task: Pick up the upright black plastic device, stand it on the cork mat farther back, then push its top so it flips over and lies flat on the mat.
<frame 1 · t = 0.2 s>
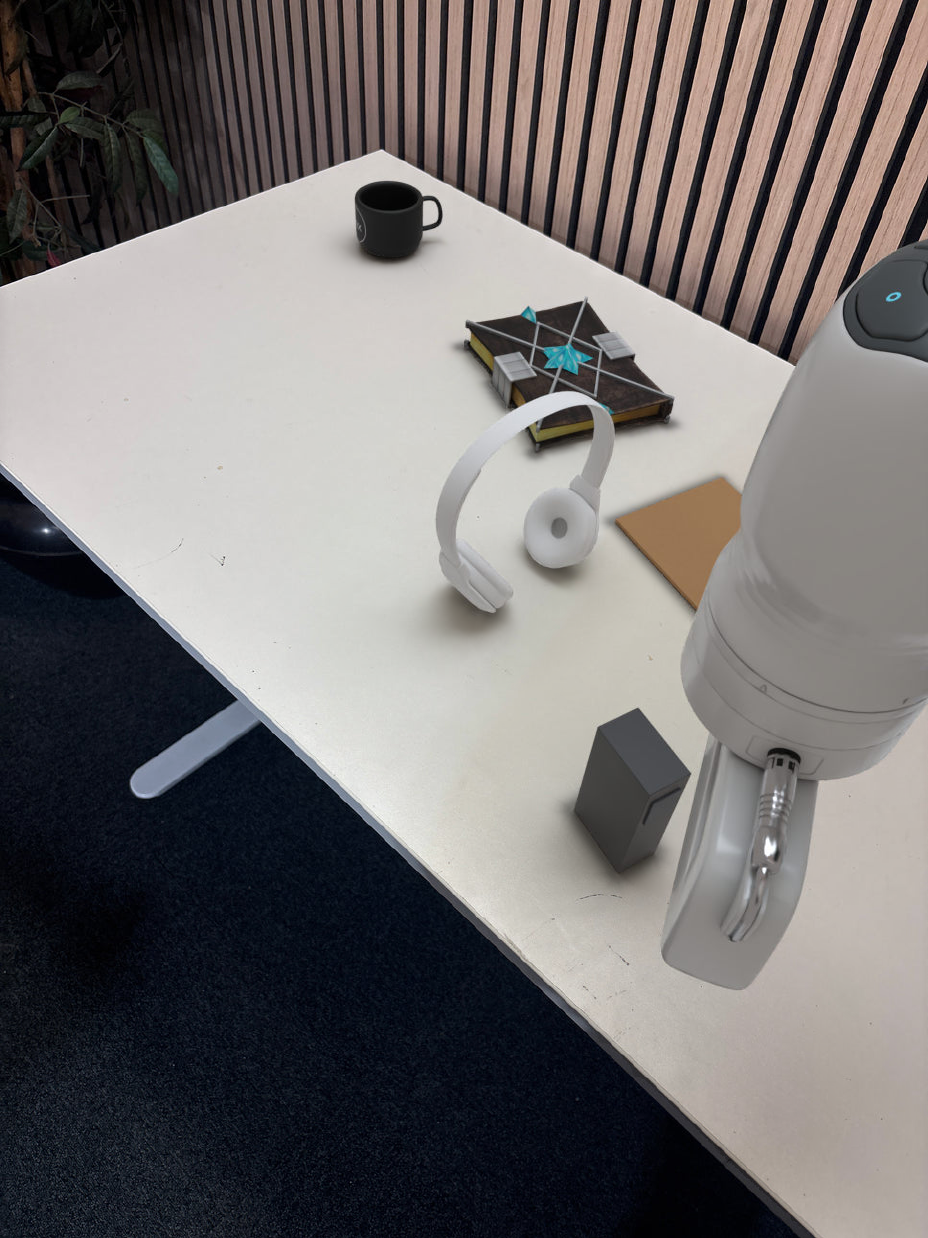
hand: (712, 825, 46), 23 cm above the table, tool pointing down, fingers open, 8 cm apart
headphones: (515, 580, 87), on the table
mat: (731, 563, 90), on the table
device: (613, 831, 71), on the table
mug: (400, 247, 126), on the table
book: (561, 384, 107), on the table
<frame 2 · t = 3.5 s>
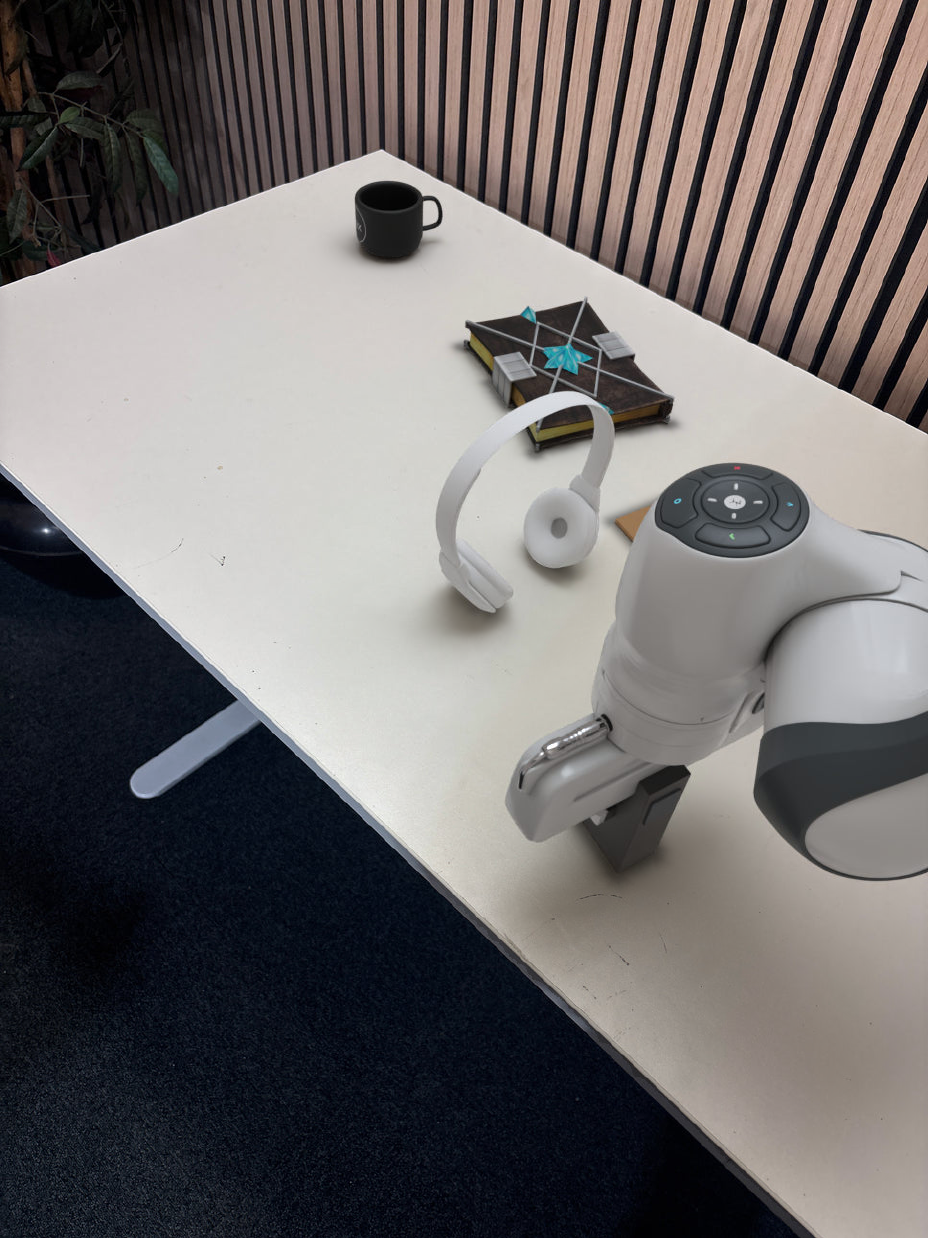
hand: (625, 799, 67), 5 cm above the table, tool pointing down, fingers closed on device, 3 cm apart
device: (613, 830, 71), on the table, touching gripper
everything else where it was.
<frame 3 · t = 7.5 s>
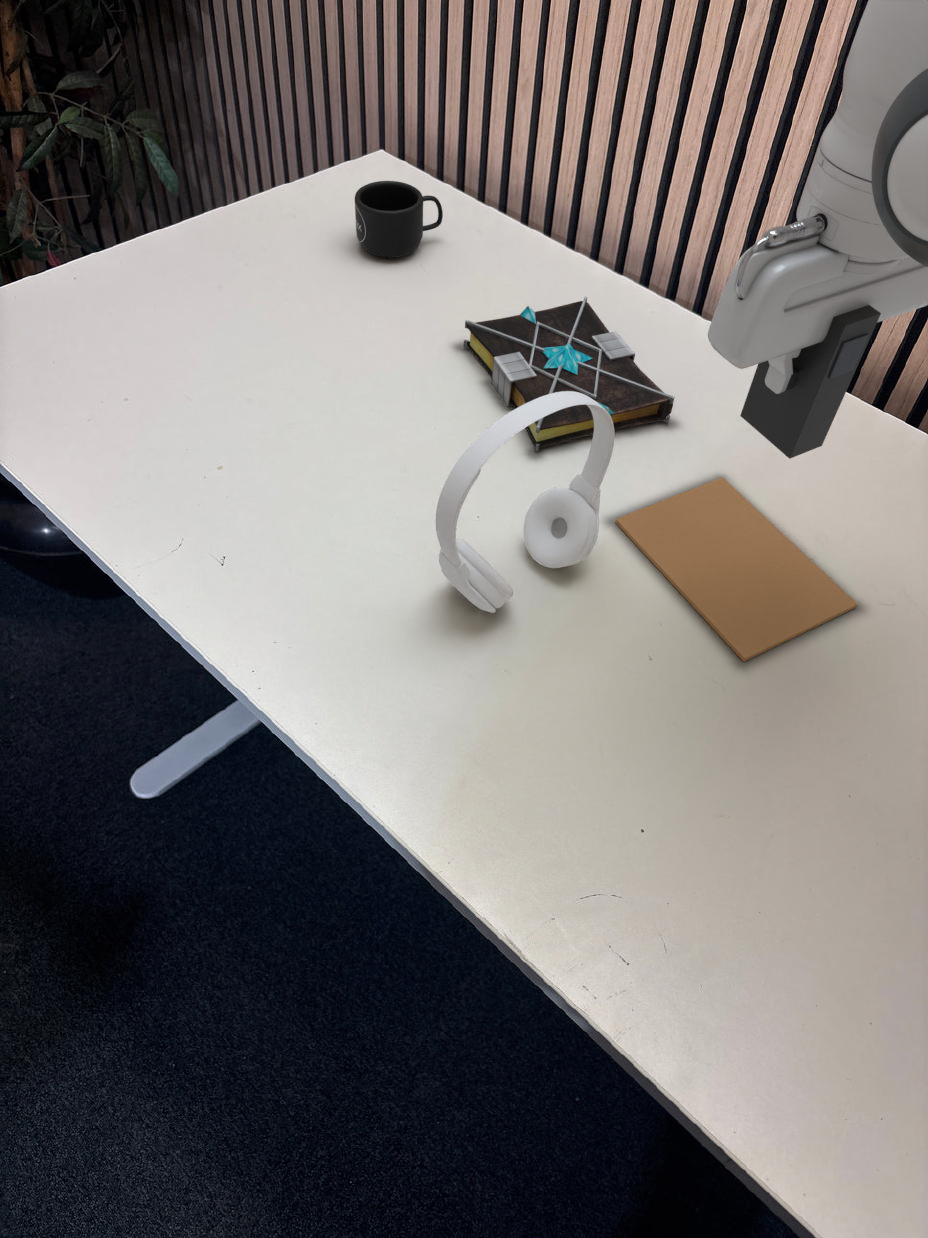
hand: (802, 378, 70), 23 cm above the table, tool pointing down, fingers closed on device, 3 cm apart
device: (780, 430, 74), point 18 cm above the table, touching gripper
everything else where it was.
when the fingers open (6 cm above the table, at t = 11.8 s): device stays where it is, resting on mat.
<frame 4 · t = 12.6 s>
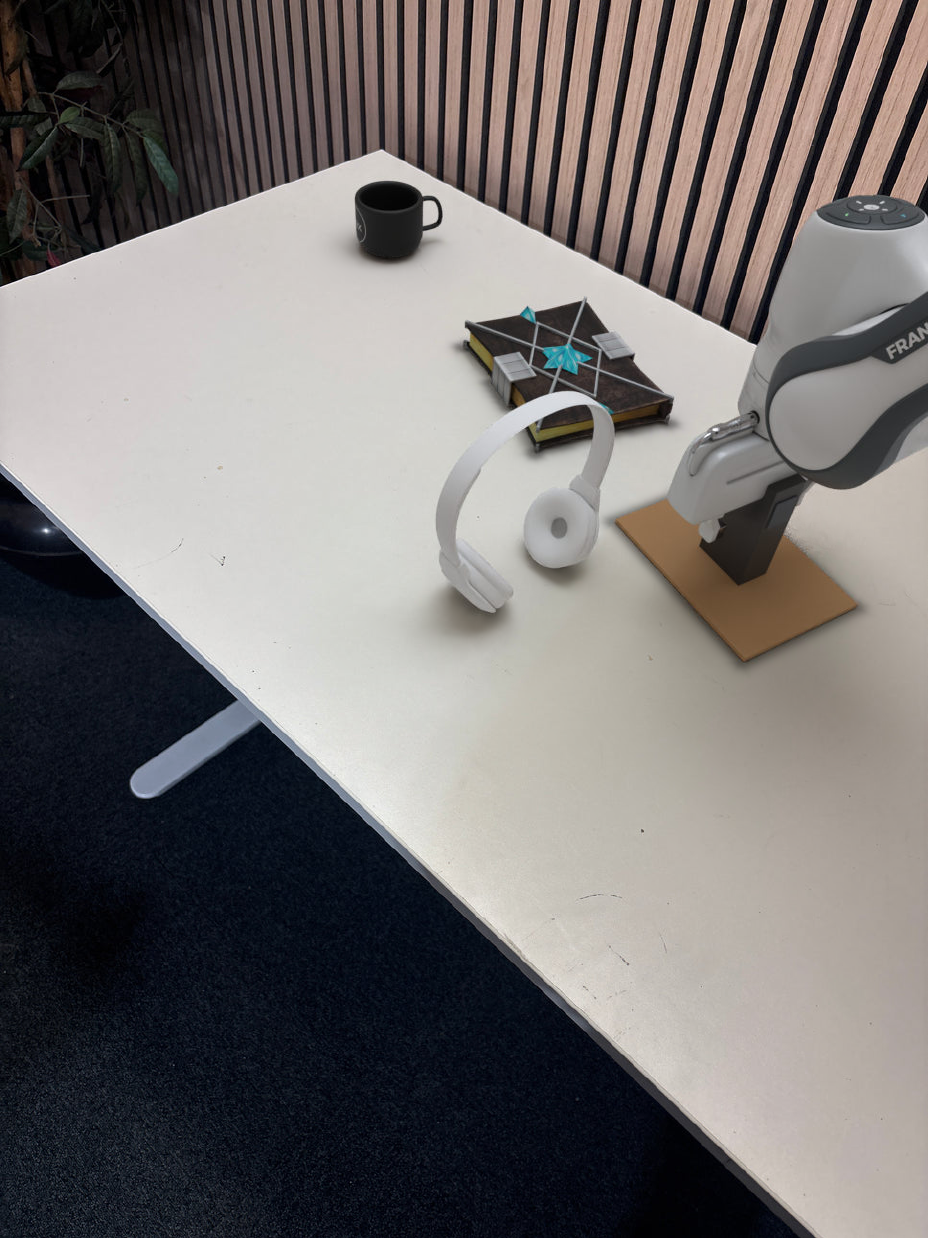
hand: (749, 519, 85), 6 cm above the table, tool pointing down, fingers open, 8 cm apart
device: (732, 559, 89), resting on mat
everything else where it was.
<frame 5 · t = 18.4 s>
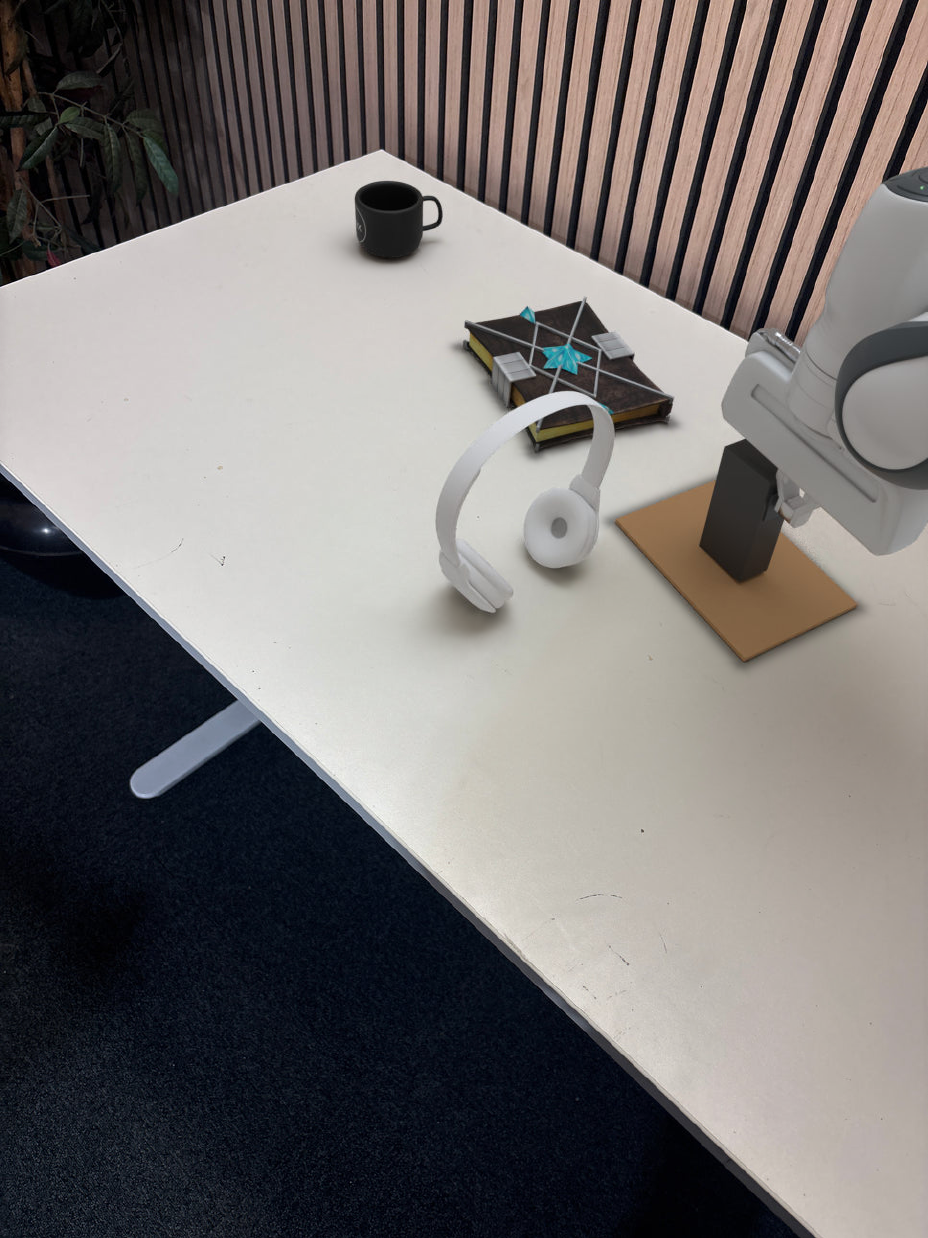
hand: (789, 517, 80), 10 cm above the table, tool pointing down, fingers closed
device: (732, 558, 89), point 1 cm above the table, touching gripper, mat
everything else where it was.
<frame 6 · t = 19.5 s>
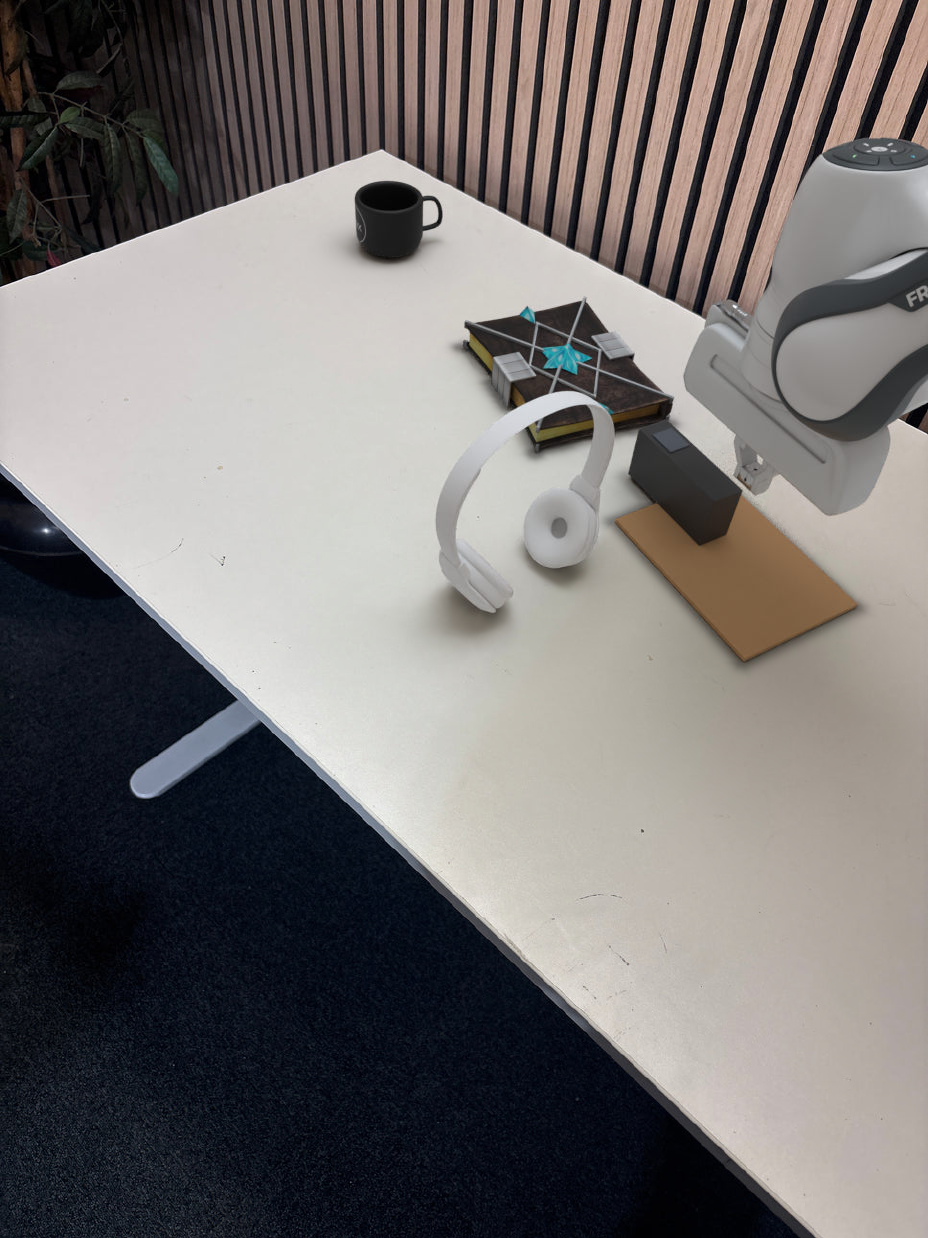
hand: (749, 484, 83), 9 cm above the table, tool pointing down, fingers closed
device: (720, 518, 89), point 3 cm above the table, tilted 90°, touching mat
everything else where it was.
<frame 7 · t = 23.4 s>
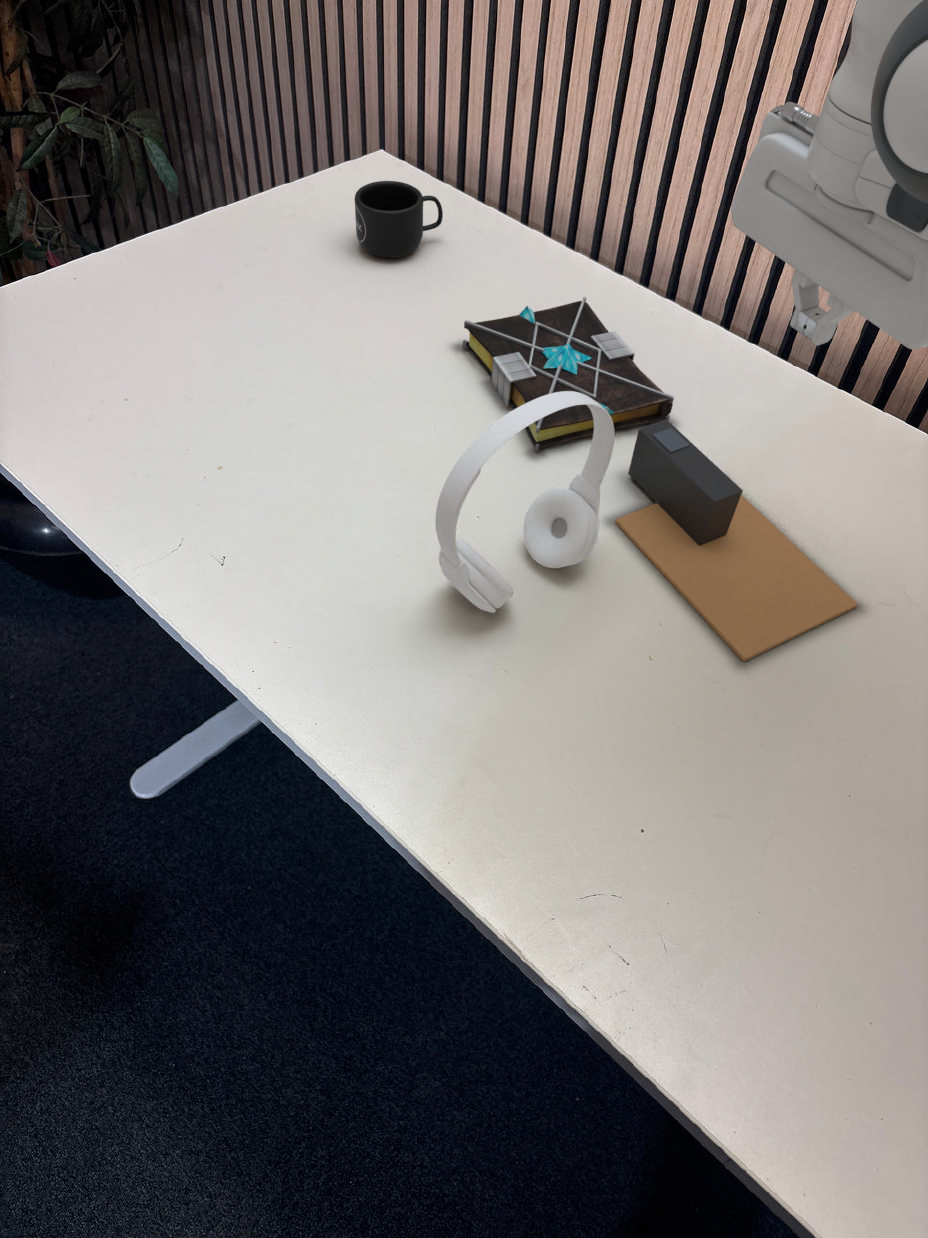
hand: (809, 334, 71), 25 cm above the table, tool pointing down, fingers closed
nothing on the table moved.
at the end: device tilted 90°; device inside the target area on the mat (2.0 cm from its centre), point 3.5 cm above the mat's base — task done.
